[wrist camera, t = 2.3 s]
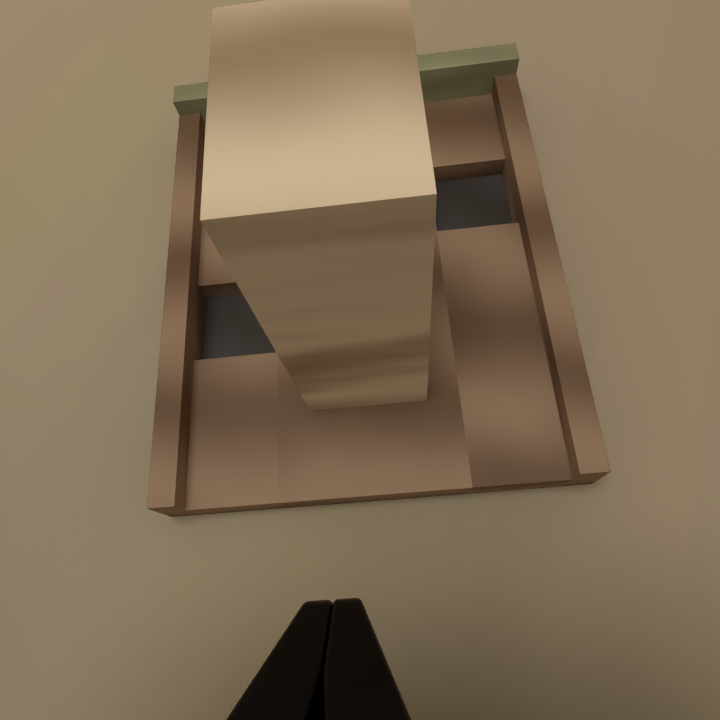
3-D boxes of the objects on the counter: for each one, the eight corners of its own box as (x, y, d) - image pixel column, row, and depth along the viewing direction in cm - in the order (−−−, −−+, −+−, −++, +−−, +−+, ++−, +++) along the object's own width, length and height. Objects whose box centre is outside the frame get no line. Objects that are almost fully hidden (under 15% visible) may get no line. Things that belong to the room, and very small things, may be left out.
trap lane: (591, 483, 21) (618, 466, 18) (171, 516, 22) (135, 505, 19) (505, 96, 29) (515, 43, 26) (197, 133, 30) (174, 86, 27)
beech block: (426, 400, 21) (437, 193, 10) (309, 410, 22) (199, 220, 11) (411, 266, 24) (406, -19, 13) (306, 276, 24) (212, 8, 13)
